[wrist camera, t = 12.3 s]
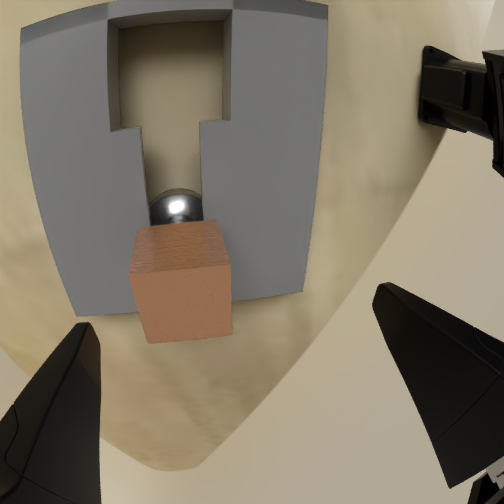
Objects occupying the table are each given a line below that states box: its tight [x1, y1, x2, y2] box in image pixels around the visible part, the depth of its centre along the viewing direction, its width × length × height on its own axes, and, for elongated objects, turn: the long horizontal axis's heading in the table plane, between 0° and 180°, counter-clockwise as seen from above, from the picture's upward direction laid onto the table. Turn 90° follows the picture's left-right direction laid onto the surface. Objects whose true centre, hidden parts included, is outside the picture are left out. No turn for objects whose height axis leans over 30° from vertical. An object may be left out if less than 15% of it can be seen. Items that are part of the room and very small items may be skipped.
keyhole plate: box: [20, 0, 328, 317], centre depth 16 cm, size 18×16×3 cm
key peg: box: [129, 188, 232, 344], centre depth 16 cm, size 4×4×8 cm
